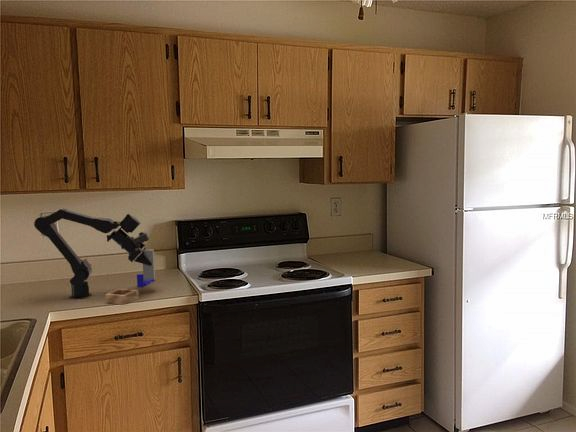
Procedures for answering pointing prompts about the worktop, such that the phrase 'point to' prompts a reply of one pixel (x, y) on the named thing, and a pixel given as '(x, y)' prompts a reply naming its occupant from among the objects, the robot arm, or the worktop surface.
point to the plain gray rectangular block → (148, 270)
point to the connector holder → (121, 296)
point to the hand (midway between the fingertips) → (151, 263)
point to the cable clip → (142, 281)
